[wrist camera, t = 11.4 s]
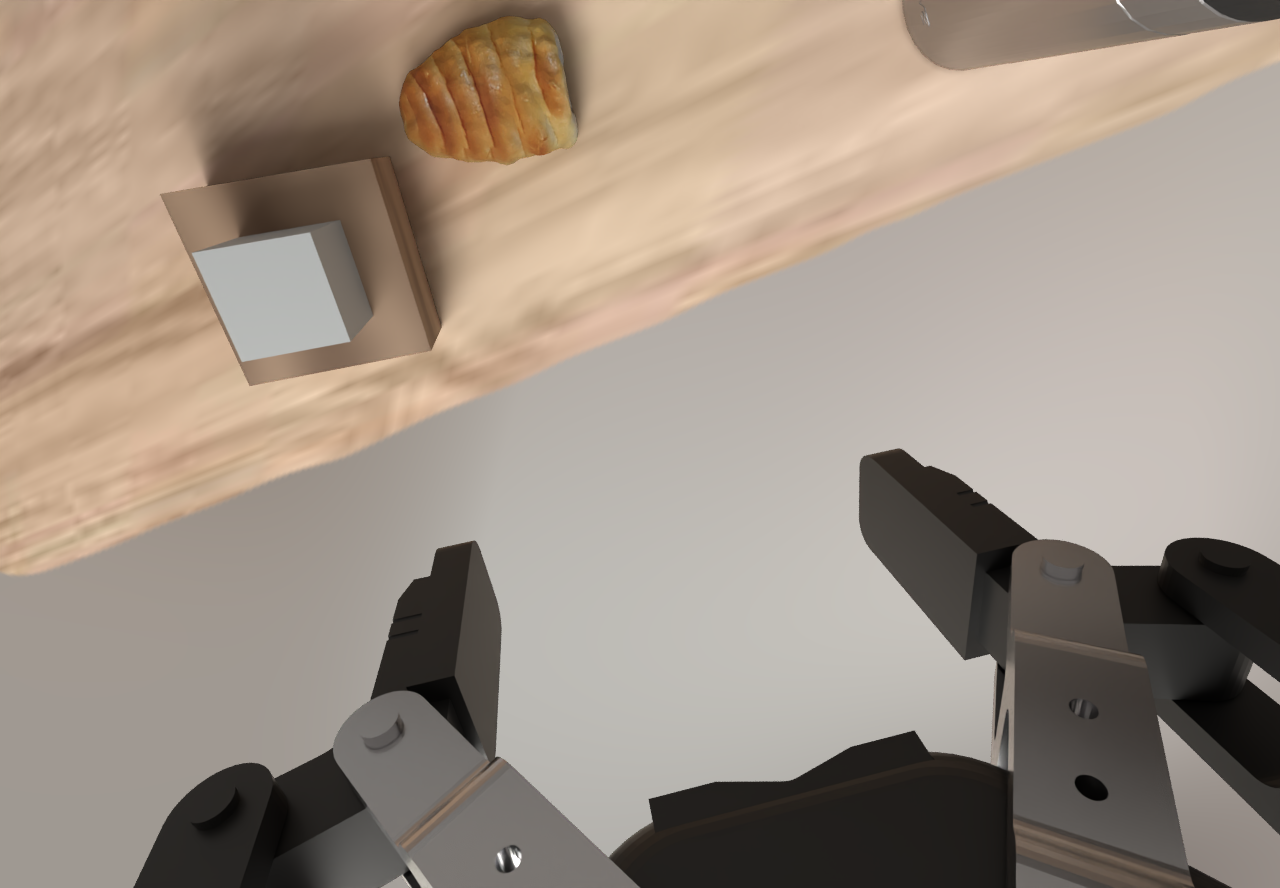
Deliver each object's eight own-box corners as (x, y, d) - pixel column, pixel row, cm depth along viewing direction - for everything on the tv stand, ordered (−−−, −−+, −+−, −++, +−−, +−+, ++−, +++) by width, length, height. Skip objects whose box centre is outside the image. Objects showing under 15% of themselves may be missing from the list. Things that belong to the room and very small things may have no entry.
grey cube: (340, 220, 32) (309, 232, 27) (373, 315, 34) (350, 341, 30) (238, 237, 31) (191, 253, 27) (279, 332, 34) (242, 362, 29)
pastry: (430, 186, 36) (419, 189, 33) (381, 54, 33) (364, 43, 30) (584, 143, 37) (590, 143, 33) (550, 9, 34) (552, -7, 30)
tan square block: (389, 156, 35) (370, 158, 31) (441, 327, 40) (431, 350, 35) (207, 187, 34) (159, 193, 30) (281, 358, 39) (249, 386, 35)
